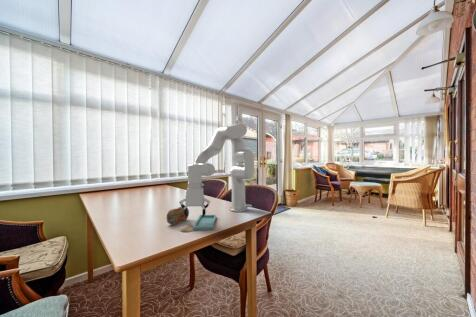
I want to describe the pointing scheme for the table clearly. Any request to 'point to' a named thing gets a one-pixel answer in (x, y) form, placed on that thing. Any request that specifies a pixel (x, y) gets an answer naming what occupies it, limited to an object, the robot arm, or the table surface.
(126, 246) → the table surface
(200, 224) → the tray
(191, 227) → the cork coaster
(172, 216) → the tin
